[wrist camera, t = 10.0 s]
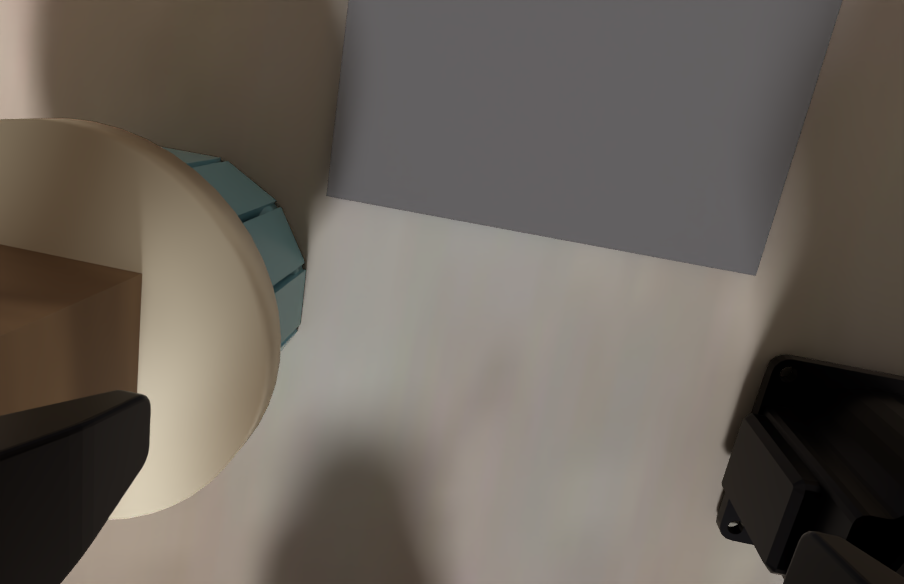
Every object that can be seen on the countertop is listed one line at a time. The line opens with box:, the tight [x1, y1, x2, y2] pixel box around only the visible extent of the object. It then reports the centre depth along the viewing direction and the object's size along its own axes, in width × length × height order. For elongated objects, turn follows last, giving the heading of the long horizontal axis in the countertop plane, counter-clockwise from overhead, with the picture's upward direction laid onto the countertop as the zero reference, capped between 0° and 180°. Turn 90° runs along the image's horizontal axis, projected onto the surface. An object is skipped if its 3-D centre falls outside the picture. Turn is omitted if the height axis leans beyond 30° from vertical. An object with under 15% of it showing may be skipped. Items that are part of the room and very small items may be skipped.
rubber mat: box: [327, 0, 842, 276], centre depth 18 cm, size 13×13×1 cm
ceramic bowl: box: [162, 147, 306, 352], centre depth 19 cm, size 8×8×5 cm
